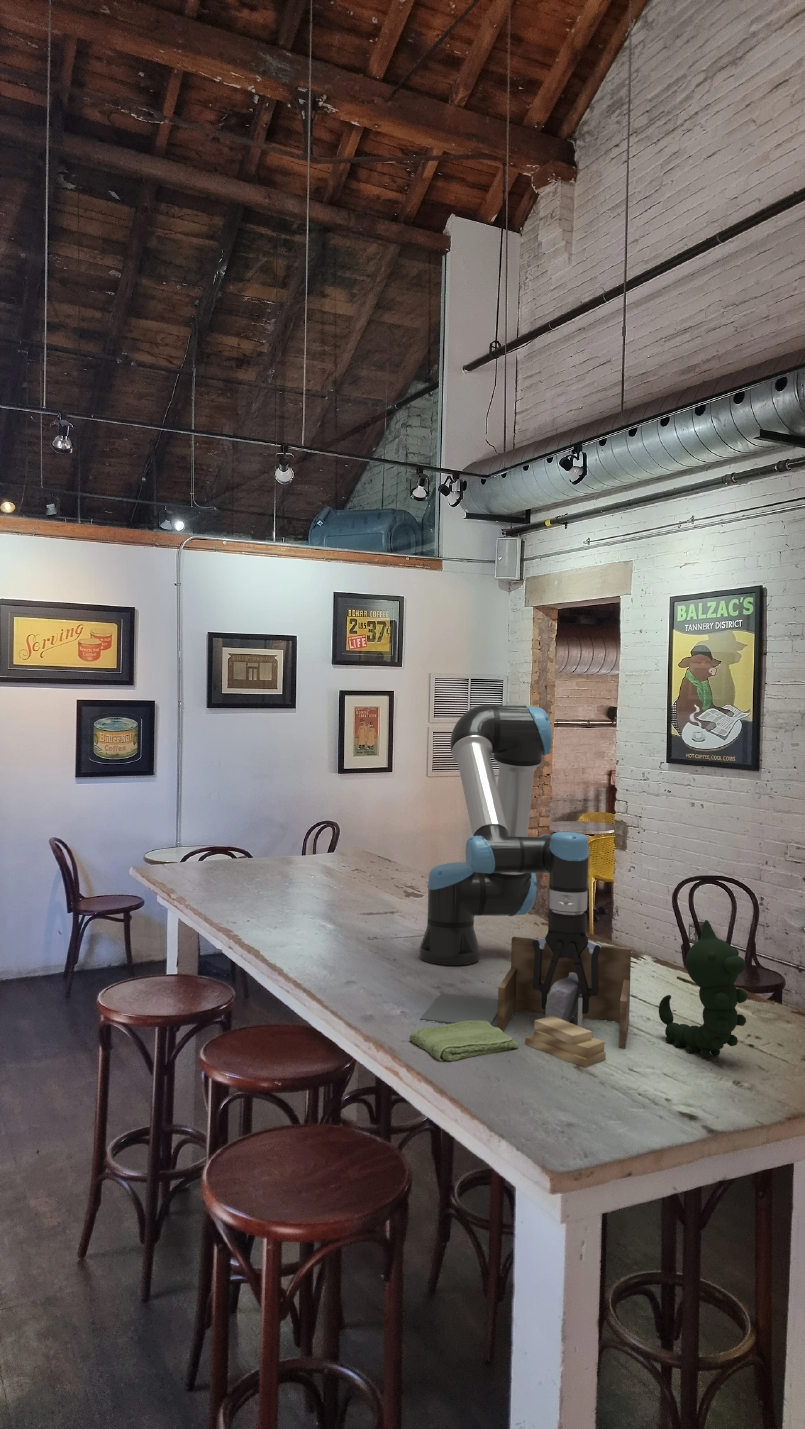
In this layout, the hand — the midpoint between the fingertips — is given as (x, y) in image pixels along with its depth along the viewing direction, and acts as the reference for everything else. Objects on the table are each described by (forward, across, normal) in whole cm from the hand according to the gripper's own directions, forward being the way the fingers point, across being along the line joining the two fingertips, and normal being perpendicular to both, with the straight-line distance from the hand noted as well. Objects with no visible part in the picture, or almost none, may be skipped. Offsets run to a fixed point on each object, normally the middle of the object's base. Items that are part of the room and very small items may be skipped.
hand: (564, 1027), depth 186 cm
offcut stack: (+1, +2, -13) cm, 13 cm away
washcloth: (+1, -17, -16) cm, 24 cm away
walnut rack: (0, 0, -1) cm, 1 cm away
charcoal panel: (0, -21, +2) cm, 21 cm away
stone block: (0, 0, 0) cm, 1 cm away
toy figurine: (+1, +25, -4) cm, 26 cm away
